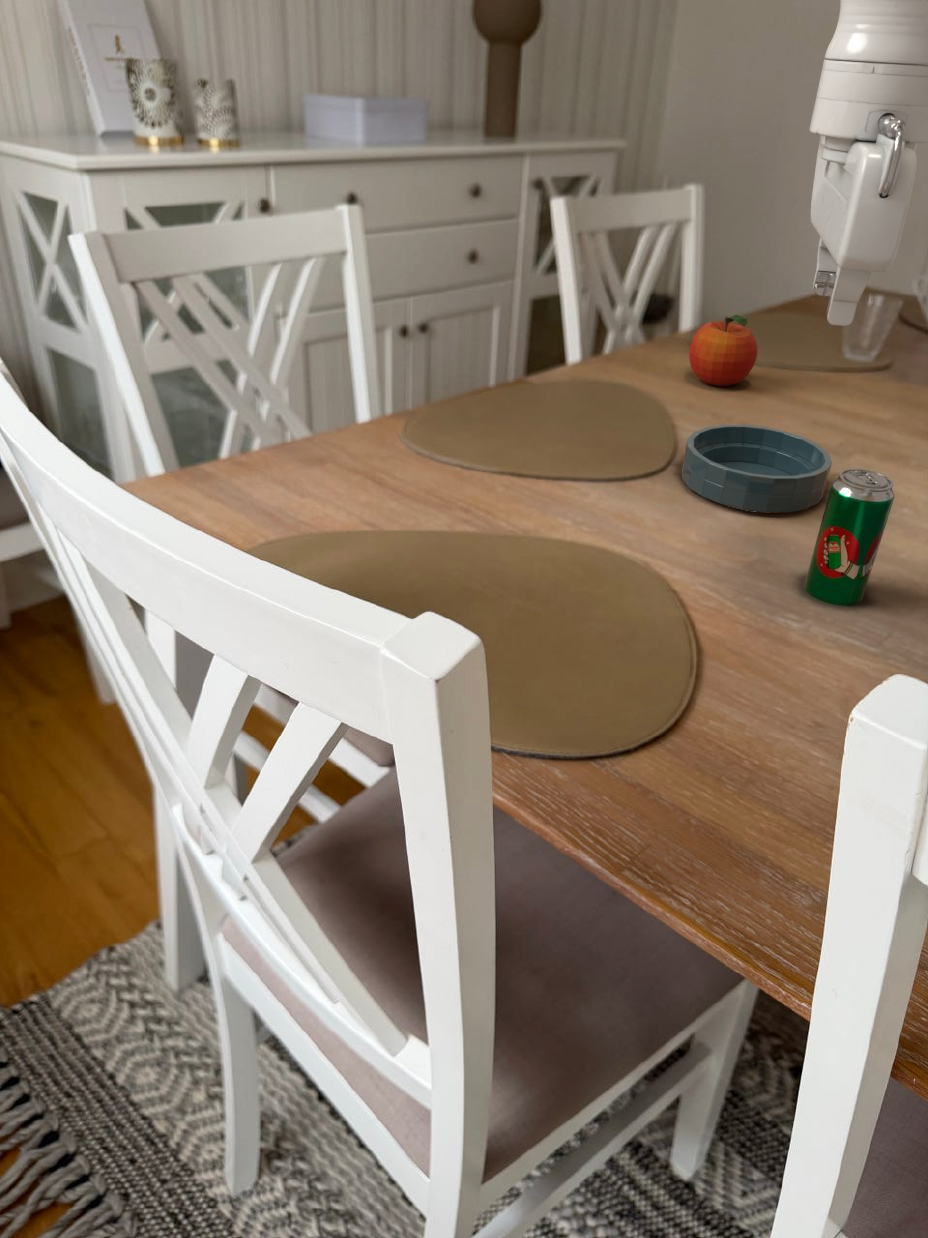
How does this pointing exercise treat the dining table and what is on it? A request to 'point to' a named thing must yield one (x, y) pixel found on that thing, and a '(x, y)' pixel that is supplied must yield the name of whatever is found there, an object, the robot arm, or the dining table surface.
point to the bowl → (755, 468)
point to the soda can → (849, 536)
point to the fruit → (723, 352)
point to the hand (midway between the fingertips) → (830, 307)
